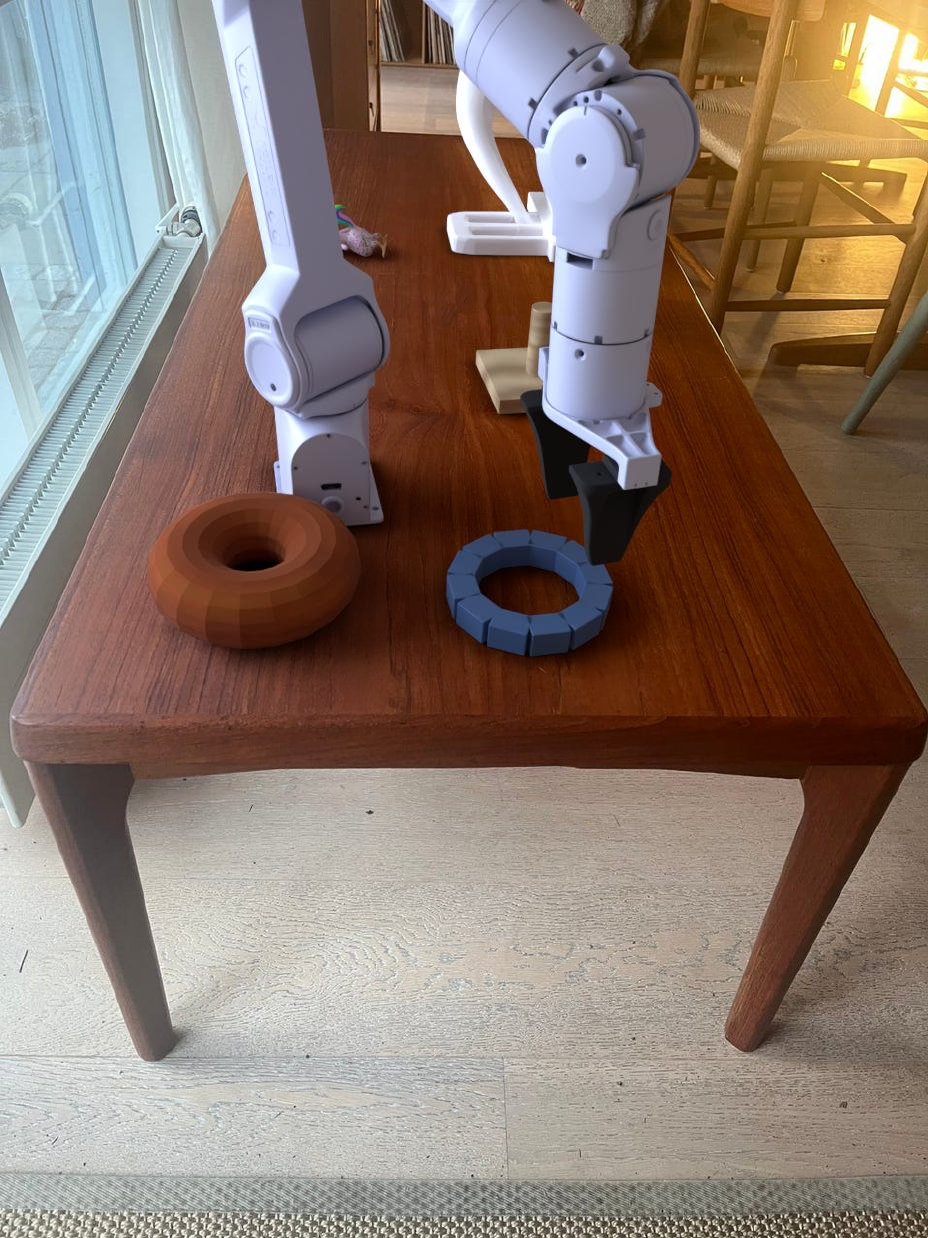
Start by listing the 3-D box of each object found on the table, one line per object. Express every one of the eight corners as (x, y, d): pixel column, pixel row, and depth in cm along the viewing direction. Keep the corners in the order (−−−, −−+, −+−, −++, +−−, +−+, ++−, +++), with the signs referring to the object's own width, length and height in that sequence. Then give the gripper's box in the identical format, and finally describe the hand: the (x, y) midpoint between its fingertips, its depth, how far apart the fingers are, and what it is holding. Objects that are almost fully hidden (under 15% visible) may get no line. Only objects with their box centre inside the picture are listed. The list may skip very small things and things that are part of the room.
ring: (629, 645, 68) (634, 624, 67) (466, 664, 66) (467, 642, 65) (580, 544, 76) (583, 523, 75) (434, 557, 74) (435, 536, 73)
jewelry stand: (581, 262, 118) (612, 26, 102) (454, 262, 117) (464, 22, 100) (547, 191, 137) (568, -18, 120) (436, 190, 135) (442, -23, 118)
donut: (390, 555, 74) (390, 500, 71) (313, 687, 64) (309, 631, 60) (213, 514, 77) (205, 460, 74) (111, 635, 66) (95, 578, 63)
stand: (600, 407, 92) (613, 328, 87) (498, 414, 91) (505, 333, 85) (570, 358, 100) (580, 282, 94) (475, 363, 98) (480, 286, 93)
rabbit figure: (384, 254, 121) (262, 229, 119) (392, 206, 117) (266, 179, 115) (382, 274, 116) (255, 249, 114) (390, 225, 112) (258, 197, 110)
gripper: (728, 371, 50) (688, 582, 58) (619, 271, 60) (599, 462, 69) (598, 387, 48) (577, 601, 57) (510, 282, 59) (504, 475, 68)
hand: (582, 526), depth 63 cm, fingers open, 7 cm apart
